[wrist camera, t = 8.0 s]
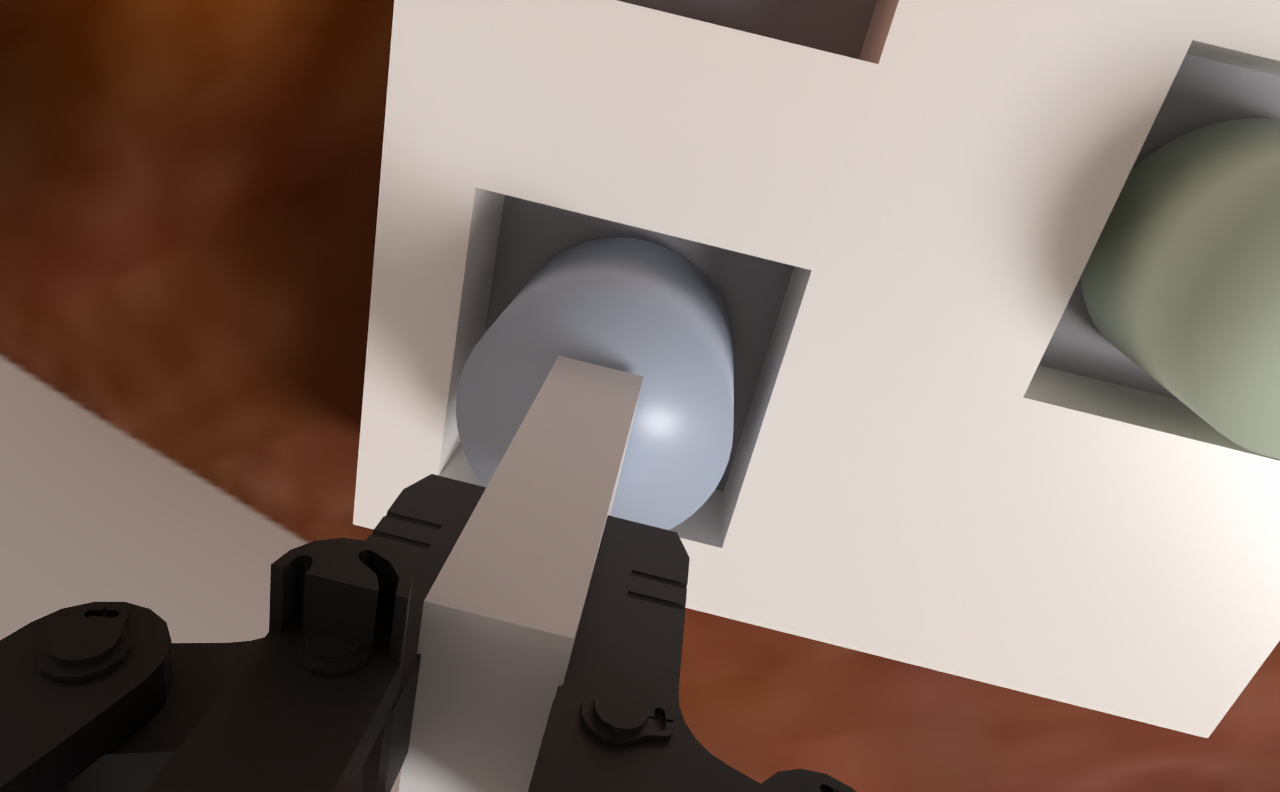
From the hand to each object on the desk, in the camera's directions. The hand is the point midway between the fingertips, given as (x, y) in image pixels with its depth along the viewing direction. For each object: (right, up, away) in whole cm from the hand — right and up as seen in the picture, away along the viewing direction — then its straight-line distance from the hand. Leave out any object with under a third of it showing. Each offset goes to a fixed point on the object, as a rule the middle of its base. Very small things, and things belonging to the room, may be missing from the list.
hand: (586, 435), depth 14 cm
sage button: (+12, +3, +2) cm, 13 cm away
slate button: (+1, +2, +4) cm, 4 cm away
